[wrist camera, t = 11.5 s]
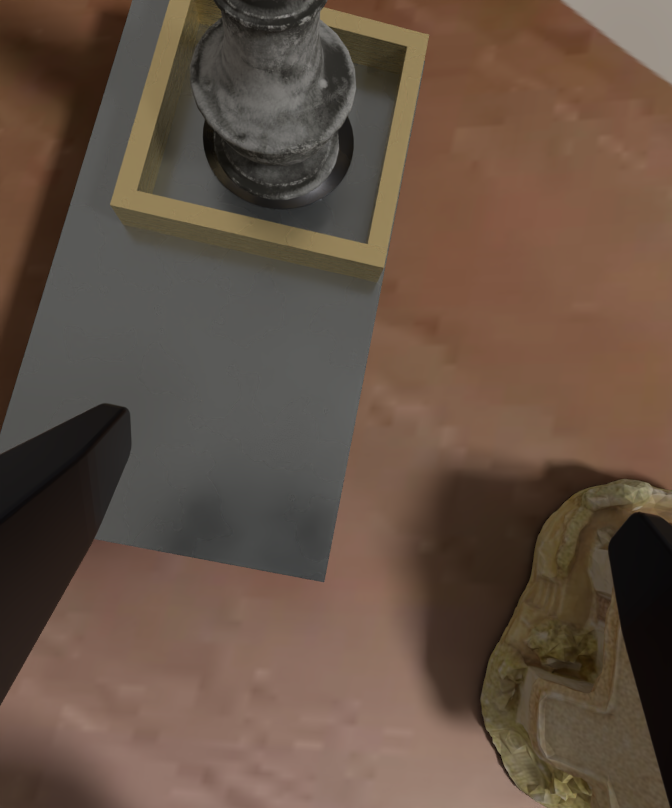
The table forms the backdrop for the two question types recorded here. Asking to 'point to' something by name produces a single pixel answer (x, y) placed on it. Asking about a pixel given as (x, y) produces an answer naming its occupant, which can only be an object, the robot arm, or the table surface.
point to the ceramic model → (575, 666)
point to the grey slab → (220, 303)
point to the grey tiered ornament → (273, 94)
